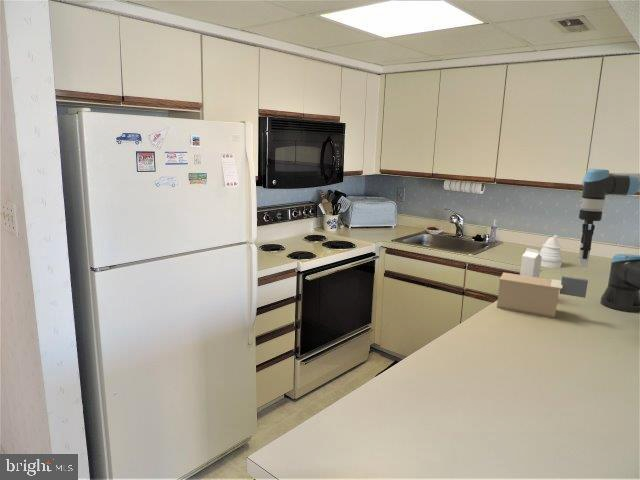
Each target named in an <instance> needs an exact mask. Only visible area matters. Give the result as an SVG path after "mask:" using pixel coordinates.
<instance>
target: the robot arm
mask: <svg viewBox="0 0 640 480" xmlns="http://www.w3.org/2000/svg"><path fill="white" fill-rule="evenodd" d="M582 186H583V188H582V195H581V199H579V200H578V201H579V203H580V210H579V214H578V219H579V220H582V221H583V220H584V223H582V226H581V227H582V230H581V231H582V234H581V238H580V246H579V251H578V257H577V258H578V259H577V260H579V264H578V267H581V268H588V267H589V265H588V264H589V261H590V253H591V250H592V241H593V236H594V231H595V228H596V226H595V224H594V222H601V221H602V217H603V210H604V206H605V199H606V196H607V195H609V196H633V195H635V194H636V193H637V192H638V193H640V172H639V173H636V172H635V173H634V172H633V173H628V172H627V173H625V172H618V173H617V172H616V173H615V172H612V173H610V170H609V169H603V168H601V169H600V168H589V169H587V170H586V172H585V175H584V177H583V179H582ZM600 304H602V306H604V307H607V308H609V309H613V310H616V311H622V312H630V313H632V312H633V313H636V312H640V254H628V253H627V254H626V253H617V254H614V255H612V260H611V262H610V271H609V277H608V284H607V287H606V289H605V290H604V292H603V293H602V295H601V297H600Z"/></svg>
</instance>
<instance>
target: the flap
mask: <svg viewBox="0 0 640 480" xmlns="http://www.w3.org/2000/svg"><path fill="white" fill-rule="evenodd" d="M500 280H501V281H508V282H514V283H521V284H527V285H534V286H540V287H546V288H553V289H559V295H566V296H571V297H578V298H585V299H586V296H587V289H588V283H589V280H588V278H587V279H586V278H578V277H572V276H565V275H562V276H561V279H553V278H551V279H550V278H544V277H543V278H542V277H539V278H538V277H531V276H524V275H520V274H515V273H509V272H502V274H501V276H500V278H499V281H500Z"/></svg>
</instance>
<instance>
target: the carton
mask: <svg viewBox="0 0 640 480" xmlns="http://www.w3.org/2000/svg"><path fill="white" fill-rule="evenodd" d="M559 295H560V290H559V289H553V288H546V287H540V286H534V285H527V284H521V283H514V282H508V281H501V280H500V279H499V285H498V294H497V303H496V308H497V309H503V310H507V311H508V310H510V311H514V312H520V313H525V314H530V313H531V314H530V315H536V314H537V316H541V315H542V316H543V317H548V318H551V319H553V318H554V319H556V314H557V313H556V312H557V306H558V301H559V300H558V299H559Z"/></svg>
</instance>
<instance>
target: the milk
mask: <svg viewBox="0 0 640 480" xmlns="http://www.w3.org/2000/svg"><path fill="white" fill-rule="evenodd" d="M539 252H540V250H538V249H534V248H529V247H527V248H526V250H525V252H523V254H522V256H521V263H520V271H519V272H520V273H519V275H524V276H531V277H538V278H540V271H541V267H542V266H541V259H542V256H541V255H540V254H539Z"/></svg>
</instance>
